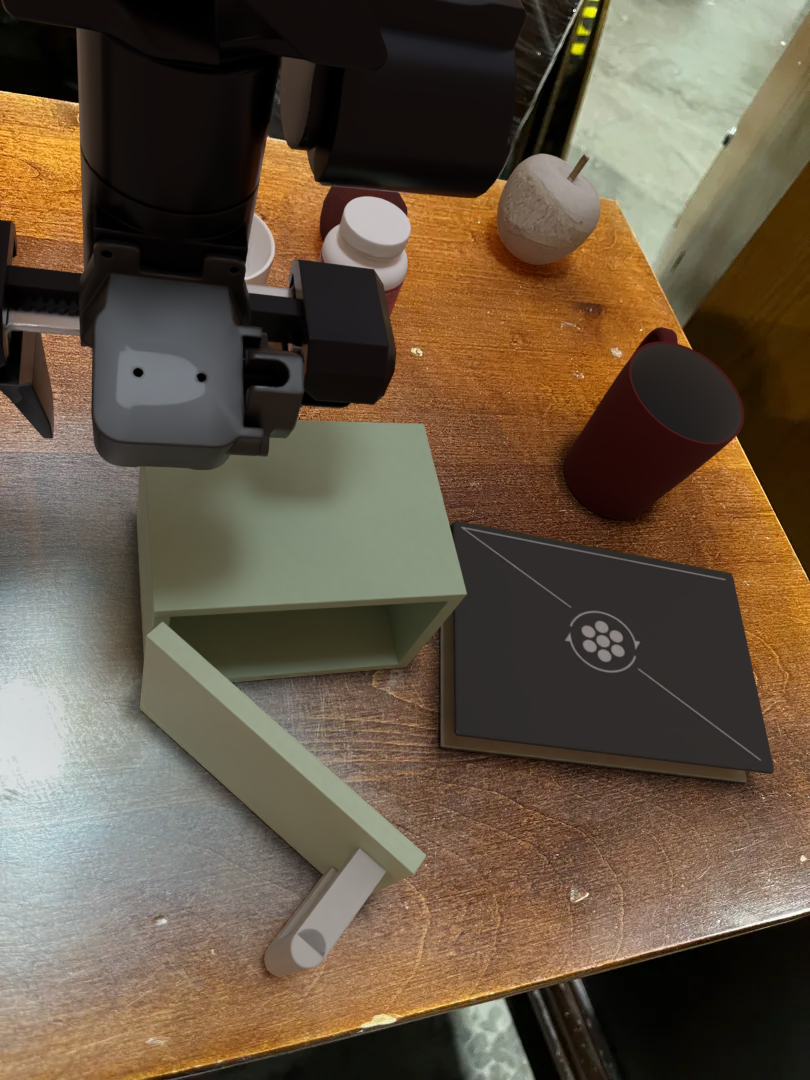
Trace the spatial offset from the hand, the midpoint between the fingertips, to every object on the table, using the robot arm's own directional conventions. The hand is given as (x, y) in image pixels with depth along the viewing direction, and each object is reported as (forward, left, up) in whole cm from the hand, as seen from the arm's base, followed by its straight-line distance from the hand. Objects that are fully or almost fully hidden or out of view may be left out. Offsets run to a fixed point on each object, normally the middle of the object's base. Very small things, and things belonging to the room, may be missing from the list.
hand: (152, 436), depth 39 cm
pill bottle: (+16, +19, -12) cm, 27 cm away
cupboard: (+8, -3, -12) cm, 14 cm away
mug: (+36, +7, -12) cm, 38 cm away
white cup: (+5, +17, -12) cm, 21 cm away
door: (+3, -17, -12) cm, 21 cm away
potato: (+19, +29, -12) cm, 36 cm away
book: (+29, -9, -12) cm, 32 cm away
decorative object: (+36, +31, -12) cm, 49 cm away
